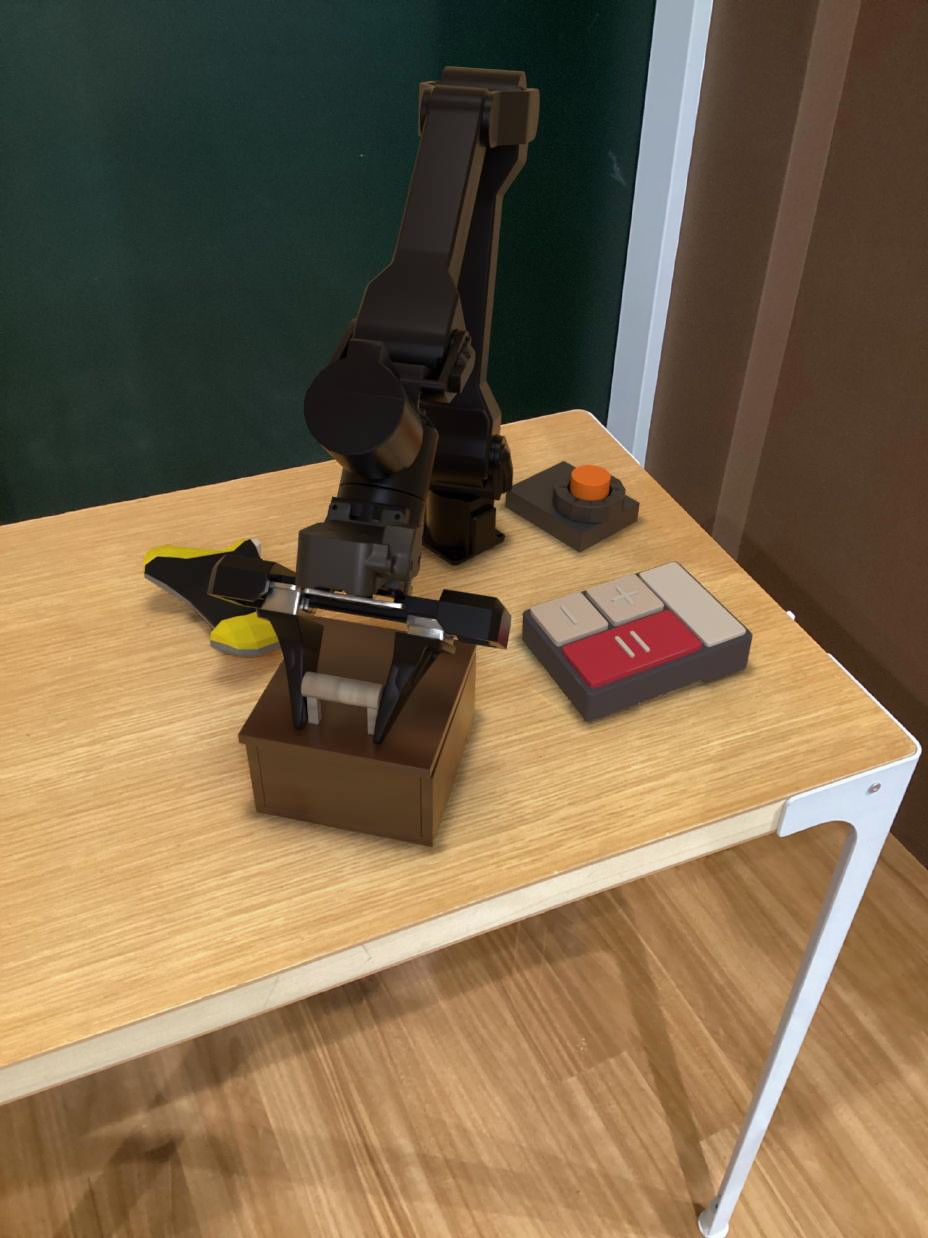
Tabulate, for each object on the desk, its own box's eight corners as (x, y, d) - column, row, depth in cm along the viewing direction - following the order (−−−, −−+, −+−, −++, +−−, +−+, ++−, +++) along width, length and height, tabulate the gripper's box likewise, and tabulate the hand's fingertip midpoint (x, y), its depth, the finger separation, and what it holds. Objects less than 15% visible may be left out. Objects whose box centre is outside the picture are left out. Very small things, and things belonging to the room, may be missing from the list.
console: (504, 507, 104) (506, 471, 101) (562, 479, 108) (565, 444, 105) (581, 554, 98) (585, 518, 95) (639, 522, 102) (644, 487, 99)
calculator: (520, 603, 86) (677, 552, 91) (519, 643, 89) (672, 591, 93) (589, 688, 78) (757, 627, 83) (586, 729, 81) (749, 668, 86)
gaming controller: (230, 695, 83) (337, 642, 88) (221, 641, 79) (333, 589, 84) (141, 600, 91) (243, 557, 96) (129, 548, 88) (236, 506, 93)
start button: (561, 489, 99) (563, 473, 98) (588, 476, 101) (590, 460, 100) (590, 506, 97) (592, 489, 96) (616, 492, 99) (618, 475, 98)
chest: (432, 847, 72) (432, 779, 67) (255, 812, 74) (244, 743, 69) (474, 719, 81) (476, 651, 77) (316, 690, 83) (310, 623, 79)
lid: (429, 780, 66) (430, 724, 63) (238, 743, 68) (231, 688, 65) (476, 651, 77) (479, 598, 74) (310, 623, 79) (306, 571, 76)
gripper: (198, 443, 62) (144, 706, 61) (511, 487, 59) (461, 766, 58) (262, 487, 73) (217, 712, 72) (529, 527, 70) (488, 762, 69)
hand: (337, 736), depth 67 cm, fingers closed on lid, 5 cm apart
